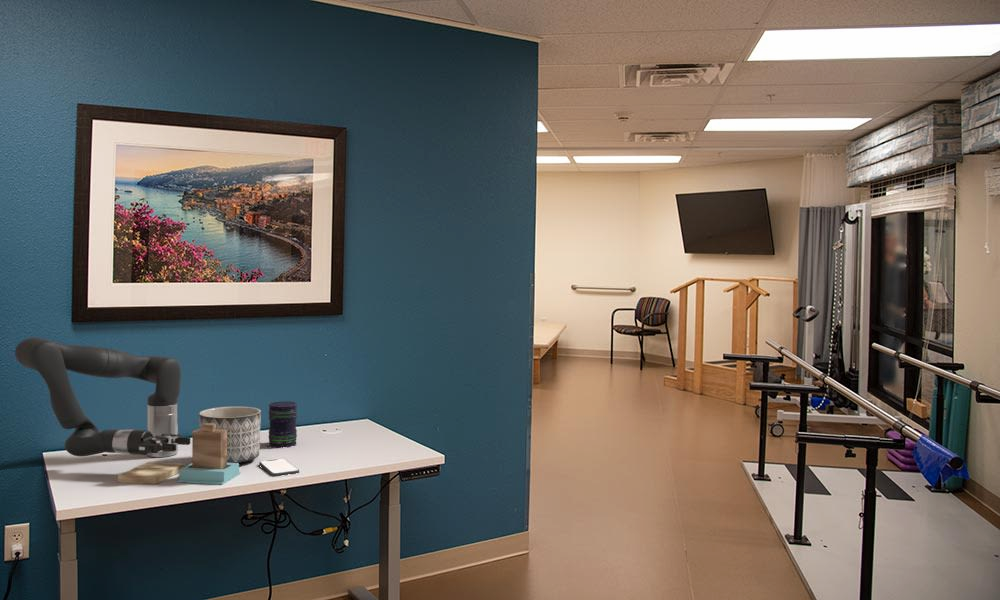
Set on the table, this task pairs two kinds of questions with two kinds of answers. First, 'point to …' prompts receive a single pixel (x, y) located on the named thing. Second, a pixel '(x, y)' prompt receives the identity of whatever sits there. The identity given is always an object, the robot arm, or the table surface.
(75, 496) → the table surface
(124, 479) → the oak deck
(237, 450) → the planter
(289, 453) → the table surface
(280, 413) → the storage jar
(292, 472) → the phone case
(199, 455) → the brown wooden bottle
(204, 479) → the teal rack
